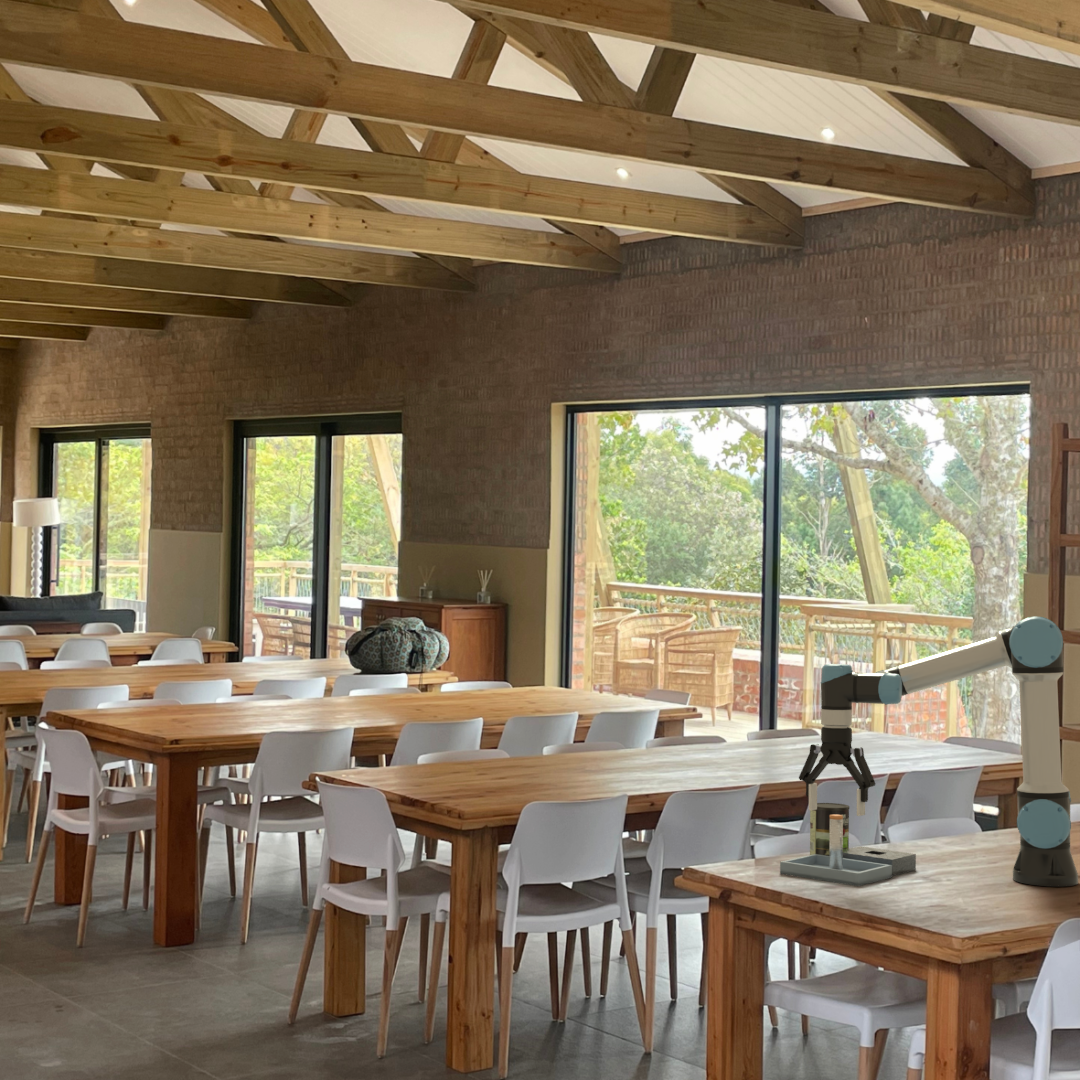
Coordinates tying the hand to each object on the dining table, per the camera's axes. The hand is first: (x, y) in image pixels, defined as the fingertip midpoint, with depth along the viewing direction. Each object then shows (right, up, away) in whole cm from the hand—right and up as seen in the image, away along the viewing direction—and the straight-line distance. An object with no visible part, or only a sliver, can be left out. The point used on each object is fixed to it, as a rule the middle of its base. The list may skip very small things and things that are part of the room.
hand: (836, 812), depth 368 cm
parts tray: (0, -15, -1) cm, 16 cm away
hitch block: (+12, -16, +10) cm, 22 cm away
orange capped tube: (0, -15, -1) cm, 15 cm away
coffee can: (+3, -17, +24) cm, 29 cm away
